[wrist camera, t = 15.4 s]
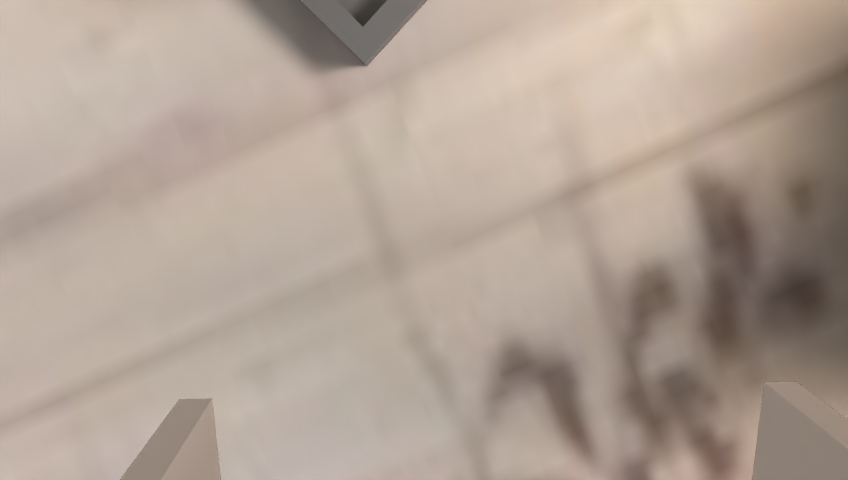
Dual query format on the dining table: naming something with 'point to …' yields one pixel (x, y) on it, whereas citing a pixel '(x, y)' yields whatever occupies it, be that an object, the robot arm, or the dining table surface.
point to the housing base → (364, 22)
